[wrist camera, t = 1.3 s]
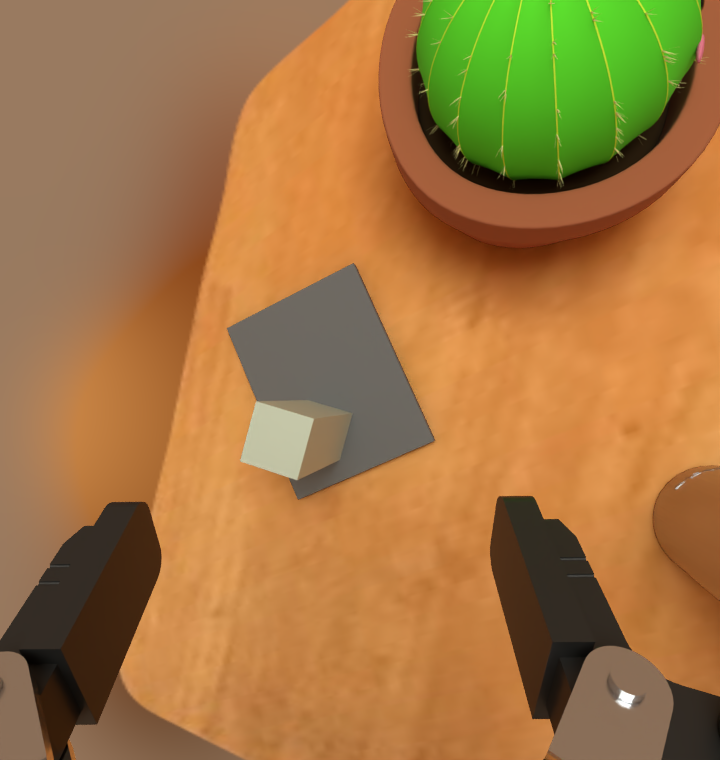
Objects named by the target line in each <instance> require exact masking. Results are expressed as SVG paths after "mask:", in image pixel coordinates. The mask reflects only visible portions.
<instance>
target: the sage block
mask: <svg viewBox="0 0 720 760" xmlns="http://www.w3.org/2000/svg"><path fill="white" fill-rule="evenodd" d="M352 414H353V413H350V412H347V411H343V410H340V409H337V408H333V407H330V406H326V405H323V404H320V403H316V402H313V401H309V400H288V401H256V404H255V408H254V411H253V415H252V419H251V422H250V426H249V430H248V434H247V437H246V441H245V445H244V449H243V452H242V456H241V460H240V461H241V462H244V463H247V464H250V465H253V466H256V467H259V468H262V469H265V470H268V471H271V472H274V473H277V474H280V475H283V476H286V477H289V478H292V479H295V480H299V479H301V478H303V477H305V476H307V475H309V474H311V473H314V472H316V471H318V470H320V469H322V468H324V467H326V466H328V465H330V464H332V463H334V462H337V461H339V460H340V458H341V454H342V450H343V447H344V443H345V439H346V436H347V432H348V428H349V425H350V421H351V417H352Z"/></svg>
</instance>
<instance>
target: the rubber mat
mask: <svg viewBox="0 0 720 760" xmlns="http://www.w3.org/2000/svg"><path fill="white" fill-rule="evenodd" d="M227 330H228V332H229V335H230V337H231V340H232V342H233V344H234V347H235V349H236V352H237V354H238V356H239V359H240V361H241V364H242V366H243V369H244V371H245V373H246V376H247V378H248V381H249V383H250V385H251V388H252V390H253V393H254V395H255V397H256V400H257V401H288V400H309V401H313V402H316V403H320V404H323V405H326V406H330V407H333V408H337V409H340V410H343V411H347V412H350V413H353V414H352V417H351V421H350V425H349V428H348V432H347V436H346V439H345V443H344V447H343V450H342V454H341V458H340V460H339V461H337V462H334V463H332V464H330V465H328V466H326V467H324V468H322V469H320V470H318V471H316V472H314V473H311V474H309V475H307V476H305V477H303V478H301V479H299V480H295V479H292V478H289V479H290V482H291V484H292V486H293V489H294V491H295V494H296V496H297V498H298V500H299V499H301V498H303V497H306V496H308V495H310V494H313V493H315V492H317V491H319V490H322V489H324V488H326V487H329V486H331V485H333V484H336V483H338V482H340V481H343V480H345V479H347V478H350V477H352V476H354V475H356V474H359V473H361V472H363V471H366V470H368V469H370V468H373V467H375V466H377V465H380V464H382V463H384V462H386V461H389V460H391V459H393V458H396V457H398V456H400V455H403V454H405V453H407V452H410V451H412V450H414V449H417V448H419V447H421V446H423V445H426V444H428V443H430V442H433V441H435V439H434V437H433V434H432V432H431V430H430V428H429V426H428V423H427V421H426V419H425V417H424V415H423V412H422V410H421V408H420V406H419V404H418V401H417V399H416V397H415V395H414V393H413V390H412V388H411V386H410V384H409V382H408V379H407V377H406V375H405V373H404V371H403V368H402V366H401V364H400V362H399V360H398V357H397V355H396V353H395V351H394V349H393V346H392V344H391V342H390V340H389V338H388V335H387V333H386V331H385V329H384V327H383V324H382V322H381V320H380V318H379V316H378V313H377V311H376V309H375V307H374V305H373V302H372V300H371V298H370V296H369V294H368V291H367V289H366V287H365V285H364V283H363V280H362V278H361V276H360V274H359V272H358V269H357V267H356V265H355V264H354V263H353V264H351V265H349V266H347V267H345V268H343V269H341V270H339V271H337V272H335V273H333V274H331V275H329V276H328V277H326V278H324V279H322V280H320V281H318V282H316V283H314V284H312V285H310V286H308V287H306V288H304V289H302V290H300V291H298V292H297V293H295V294H293V295H291V296H289V297H287V298H285V299H283V300H281V301H279V302H277V303H275V304H273V305H271V306H269V307H267V308H265V309H264V310H262V311H260V312H258V313H256V314H254V315H252V316H250V317H248V318H246V319H244V320H242V321H240V322H238V323H236V324H234V325H233V326H231V327H229V328H227Z"/></svg>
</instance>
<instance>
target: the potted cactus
mask: <svg viewBox="0 0 720 760" xmlns="http://www.w3.org/2000/svg"><path fill="white" fill-rule="evenodd" d="M379 97H380V106H381V112H382V118H383V122H384V126H385V130H386V133H387V137H388V140H389V143H390V146H391V149H392V152H393V155H394V158H395V160H396V163H397V166H398V168H399V170H400V172H401V174H402V176H403V178H404V180H405V182H406V184H407V185H408V187H409V188H410V190H411V192H412V193H413V194H414V196H415V197H416V198H417V199H418V200H419V202H420V203H421V204H422V205H423V206H424V207H425V208H426V209H427V210H428V211H429V212H430V213H431V214H433V215H434V216H435V217H437V218H438V219H440V220H441V221H442V222H444V223H446V224H448V225H450V226H451V227H453V228H455V229H457V230H460V231H462V232H463V233H465V234H466V235H468V236H470V237H472V238H474V239H476V240H478V241H481V242H484V243H487V244H491V245H495V246H500V247H510V248H528V247H537V246H544V245H548V244H553V243H556V242H559V241H564V240H569V239H574V238H578V237H583V236H586V235H589V234H593V233H596V232H599V231H602V230H604V229H607V228H609V227H612V226H614V225H617V224H619V223H621V222H623V221H625V220H627V219H629V218H631V217H632V216H634V215H636V214H637V213H639V212H640V211H642V210H644V209H645V208H647V207H648V206H649V205H651V204H652V203H653V202H655V201H656V200H657V199H658V198H660V197H661V196H662V195H663V194H664V193H665V192H666V191H667V190H668V189H669V188H670V187H671V186H672V185H674V183H675V182H676V181H677V180H678V179H679V178H680V177H681V176H682V175H683V174H684V173H685V172H686V171H687V170H688V169H689V168H690V167H691V165H692V164H693V163H694V162H695V161H696V159H697V158H698V157H699V156H700V155H701V153H702V152H703V151H704V150H705V148H706V146H707V145H708V143H709V142H710V140H711V139H712V137H713V136H714V134H715V132H716V130H717V128H718V126H719V124H720V0H396V2H395V4H394V6H393V8H392V11H391V14H390V17H389V19H388V22H387V25H386V29H385V33H384V37H383V42H382V48H381V54H380V63H379Z"/></svg>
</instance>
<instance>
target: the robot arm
mask: <svg viewBox="0 0 720 760" xmlns="http://www.w3.org/2000/svg"><path fill="white" fill-rule="evenodd" d="M653 523H654V530H655V533H656V537H657V539H658V541H659V543H660V545H661V547H662V549H663V550H664V552H665V553H666V554H667V555H668V556H669V558H670V559H671V560H672V561H674V562H675V563H676V564H677V565H678V566H680V567H681V568H682V569H683V570H684V571H685V572H687V573H688V574H689V575H690V576H691V577H692V578H693V579H695V580H696V581H697V582H698V583H699V584H701V585H702V587H703V588H704V589H706V590H707V591H708V592H709V593H710V594H712V595H713V596H714V597H715V598H716V599H718V600H719V601H720V466H714V465H713V466H700V467H697V468H693V469H689V470H687V471H685V472H683V473H681V474H679V475H677V476H676V477H675V478H673V479H672V480H671V481H670V482H668V483H667V485H666V486H665V487H664V488H663V490H662V491H661V492H660V494H659V497H658V499H657V501H656V503H655V508H654V513H653ZM490 557H491V566H492V571H493V575H494V579H495V583H496V586H497V590H498V594H499V597H500V601H501V605H502V608H503V612H504V616H505V619H506V623H507V627H508V630H509V634H510V638H511V641H512V645H513V649H514V653H515V656H516V660H517V664H518V667H519V671H520V675H521V678H522V682H523V686H524V689H525V693H526V697H527V700H528V704H529V708H530V711H531V715H532V719H550V721H551V724H552V728H553V731H554V734H555V735H554V738H553V740H552V743H551V745H550V748H549V750H548V752H547V755H546V757H545V759H543V760H720V697H719V696H715V695H712V694H709V693H705V692H702V691H699V690H695V689H692V688H688V687H685V686H682V685H679V684H676V683H673V682H671V681H669V680H667V679H665V678H664V676H663V675H662V674H661V672H660V671H659V670H658V669H657V668H656V667H655V666H654V665H653V664H652V663H651V662H650V661H648V660H647V659H646V658H644V657H643V656H641V655H639V654H638V653H636V652H633V651H632V650H631V648H630V647H629V645H628V643H627V642H626V640H625V638H624V636H623V633H622V631H621V629H620V627H619V625H618V623H617V621H616V619H615V617H614V615H613V613H612V610H611V608H610V606H609V604H608V602H607V600H606V598H605V596H604V594H603V592H602V590H601V588H600V585H599V583H598V581H597V579H596V578H594V573H593V571H592V569H591V567H590V565H589V562H588V561H586V556H585V554H584V552H583V550H582V548H581V546H580V544H579V542H578V540H577V537H576V536H575V535H574V534H573V533H572V532H571V531H570V530H569V529H568V528H567V527H566V526H565V525H564V524H563V523H562V522H561V521H560V520H559V519H543V517H542V514H541V512H540V510H539V507H538V505H537V503H536V500H535V499H534V497H533V496H500V497H498V499H497V503H496V510H495V517H494V523H493V530H492V537H491V545H490ZM160 568H161V548H160V545H159V541H158V538H157V534H156V531H155V527H154V524H153V520H152V517H151V513H150V510H149V507H148V505H147V504H146V503H145V502H112V503H109V504H108V505H107V506H106V507H105V508H104V510H103V512H102V513H101V515H100V517H99V518H98V520H97V521H96V523H95V525H94V526H84V527H82V528H81V529H80V530H79V531H78V532H77V533H75V534H74V535H73V536H72V537H71V538H70V539H68V540H67V541H66V542H65V543H64V544H63V545H62V547H61V548H60V550H59V551H58V553H57V554H56V556H55V558H54V559H53V561H52V562H51V563H50V568H47V570H46V571H45V573H44V574H43V576H42V577H41V579H40V581H39V585H38V586H35V588H34V590H33V591H32V593H31V594H30V596H29V597H28V599H27V600H26V602H25V603H24V605H23V606H22V608H21V609H20V611H19V612H18V614H17V616H16V617H15V619H14V620H13V622H12V623H11V625H10V626H9V628H8V629H7V631H6V632H5V634H4V635H3V637H2V638H1V640H0V760H76V758H75V754H74V750H73V747H72V745H71V742H70V740H69V738H70V735H71V733H72V731H73V729H74V726H75V725H80V724H81V725H87V724H89V725H91V724H97V723H98V721H99V718H100V716H101V714H102V711H103V709H104V706H105V704H106V702H107V699H108V697H109V694H110V692H111V689H112V687H113V685H114V682H115V680H116V677H117V675H118V673H119V670H120V668H121V665H122V663H123V661H124V658H125V656H126V653H127V651H128V649H129V646H130V644H131V641H132V639H133V637H134V634H135V632H136V629H137V627H138V625H139V622H140V620H141V617H142V615H143V612H144V610H145V608H146V605H147V603H148V600H149V598H150V596H151V593H152V591H153V588H154V586H155V584H156V581H157V579H158V576H159V573H160Z"/></svg>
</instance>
